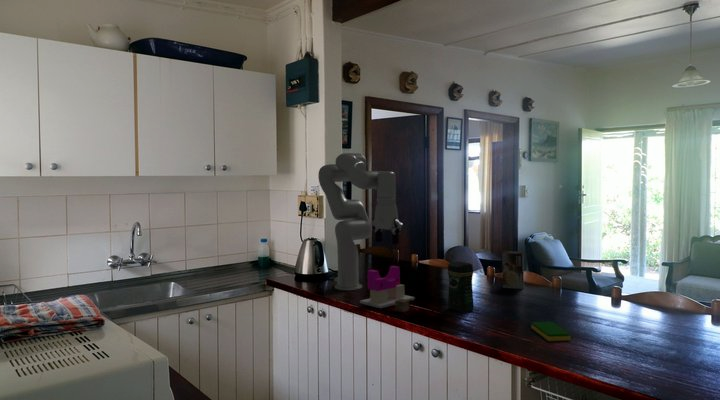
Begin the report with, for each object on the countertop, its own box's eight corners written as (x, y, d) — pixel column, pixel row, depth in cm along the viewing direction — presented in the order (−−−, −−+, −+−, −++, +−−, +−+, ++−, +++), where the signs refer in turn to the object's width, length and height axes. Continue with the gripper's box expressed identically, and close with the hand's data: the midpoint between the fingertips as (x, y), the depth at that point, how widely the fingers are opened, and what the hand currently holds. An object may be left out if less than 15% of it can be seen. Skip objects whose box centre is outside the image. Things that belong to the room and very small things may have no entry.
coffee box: (524, 286, 238) (524, 251, 238) (523, 289, 232) (523, 253, 232) (503, 285, 242) (503, 250, 241) (502, 287, 236) (502, 252, 235)
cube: (395, 311, 200) (394, 300, 199) (400, 308, 203) (399, 298, 203) (404, 312, 197) (404, 302, 197) (409, 310, 201) (408, 299, 200)
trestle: (360, 303, 212) (359, 288, 212) (394, 294, 226) (394, 281, 225) (380, 308, 203) (380, 293, 203) (414, 299, 217) (414, 285, 216)
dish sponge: (548, 342, 161) (548, 334, 161) (531, 329, 175) (531, 322, 175) (570, 341, 162) (570, 333, 162) (551, 328, 175) (551, 321, 175)
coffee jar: (477, 310, 198) (477, 262, 197) (462, 313, 194) (461, 264, 193) (459, 305, 206) (459, 258, 205) (444, 308, 202) (444, 261, 201)
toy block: (378, 291, 207) (377, 272, 206) (367, 288, 211) (367, 270, 211) (404, 285, 217) (404, 267, 216) (393, 283, 221) (393, 265, 221)
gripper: (365, 201, 217) (366, 241, 218) (395, 202, 204) (395, 245, 205) (378, 200, 222) (379, 240, 223) (408, 201, 209) (408, 244, 210)
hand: (387, 242), depth 214 cm, fingers open, 9 cm apart
